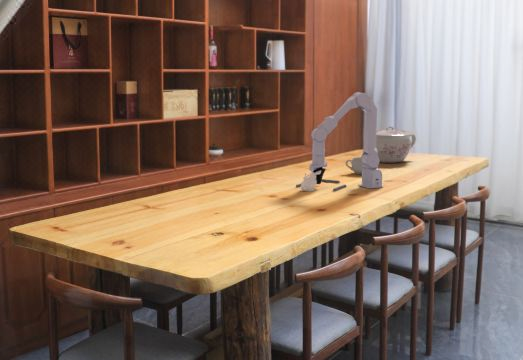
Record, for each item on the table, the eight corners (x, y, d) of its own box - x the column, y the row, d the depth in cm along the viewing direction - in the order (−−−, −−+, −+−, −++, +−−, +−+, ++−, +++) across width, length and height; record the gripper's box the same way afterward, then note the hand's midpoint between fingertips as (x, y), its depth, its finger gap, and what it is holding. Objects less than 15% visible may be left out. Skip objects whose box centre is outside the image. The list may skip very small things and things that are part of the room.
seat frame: (353, 184, 314) (353, 182, 314) (335, 191, 297) (335, 189, 297) (315, 180, 325) (315, 178, 325) (295, 187, 307) (295, 185, 307)
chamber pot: (362, 163, 378) (362, 127, 374) (368, 157, 404) (369, 123, 400) (411, 165, 370) (413, 129, 366) (415, 159, 396) (416, 124, 392)
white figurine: (313, 187, 307) (313, 166, 305) (326, 189, 302) (326, 168, 300) (296, 191, 298) (296, 170, 297) (309, 193, 293) (309, 172, 291)
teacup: (371, 172, 349) (371, 157, 348) (372, 175, 339) (373, 160, 337) (345, 171, 351) (345, 157, 349) (345, 175, 340) (345, 159, 339)
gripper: (317, 152, 310) (317, 180, 313) (303, 156, 298) (303, 185, 300) (331, 153, 307) (330, 182, 309) (317, 157, 294) (317, 187, 297)
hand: (318, 184), depth 304 cm, fingers closed
